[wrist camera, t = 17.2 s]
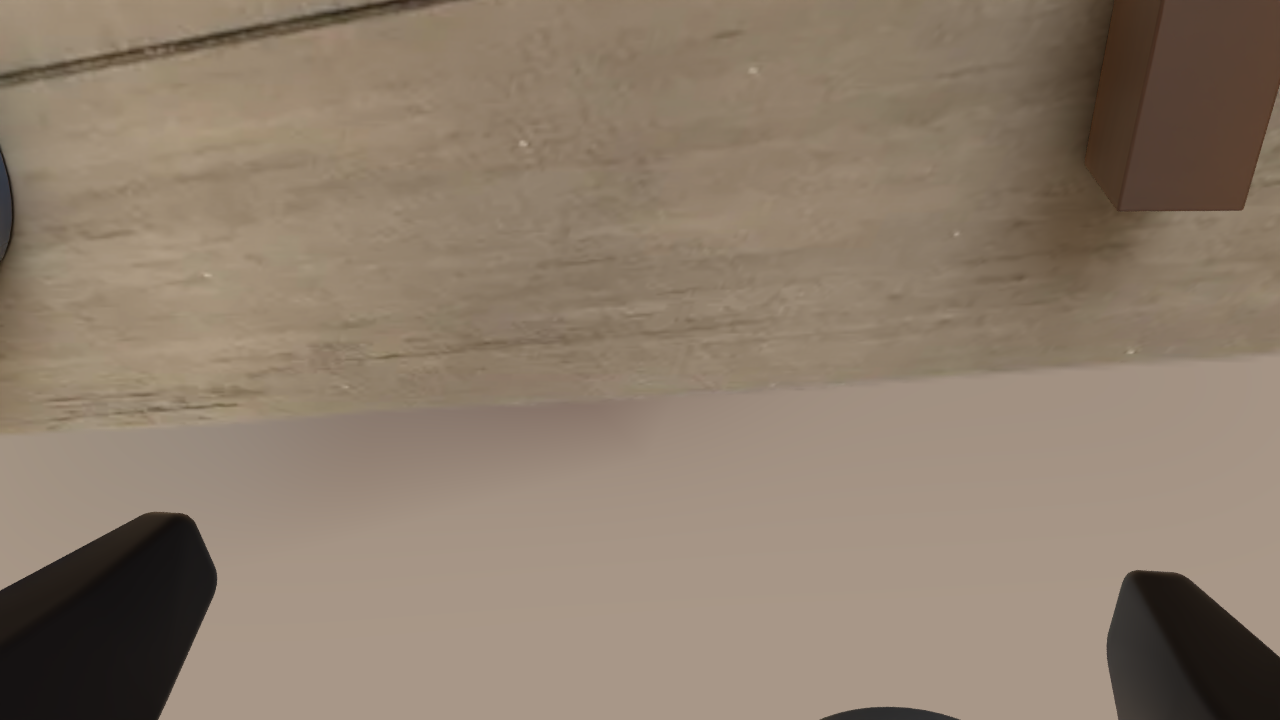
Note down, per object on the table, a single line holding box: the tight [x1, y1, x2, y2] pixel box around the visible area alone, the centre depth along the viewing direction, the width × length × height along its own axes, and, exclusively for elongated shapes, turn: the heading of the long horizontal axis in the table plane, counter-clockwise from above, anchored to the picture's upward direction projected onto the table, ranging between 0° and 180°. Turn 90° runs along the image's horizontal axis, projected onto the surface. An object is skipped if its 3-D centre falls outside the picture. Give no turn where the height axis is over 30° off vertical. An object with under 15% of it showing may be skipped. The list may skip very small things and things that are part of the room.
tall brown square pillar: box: [1084, 0, 1280, 211], centre depth 15 cm, size 2×5×2 cm, turn 4°
